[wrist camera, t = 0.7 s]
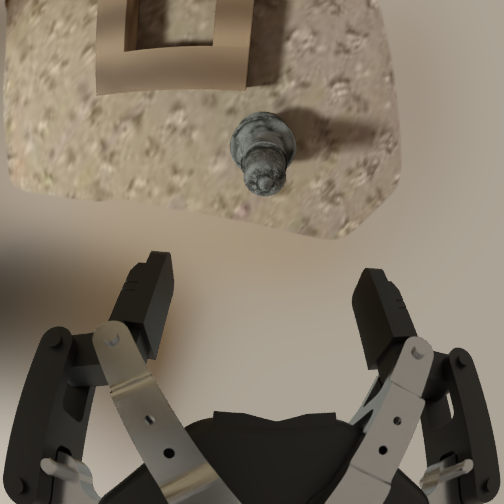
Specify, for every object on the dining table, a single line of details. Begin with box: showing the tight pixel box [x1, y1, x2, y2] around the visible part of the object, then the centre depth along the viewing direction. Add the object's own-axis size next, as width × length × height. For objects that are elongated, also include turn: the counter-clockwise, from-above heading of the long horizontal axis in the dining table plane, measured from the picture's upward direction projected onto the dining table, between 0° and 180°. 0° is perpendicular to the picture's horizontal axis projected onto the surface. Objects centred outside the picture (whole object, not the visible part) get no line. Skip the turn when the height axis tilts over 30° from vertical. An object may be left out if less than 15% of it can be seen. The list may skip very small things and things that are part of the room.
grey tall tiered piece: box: [230, 112, 296, 196], centre depth 23 cm, size 6×6×12 cm
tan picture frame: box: [96, 0, 255, 96], centre depth 18 cm, size 16×14×3 cm
